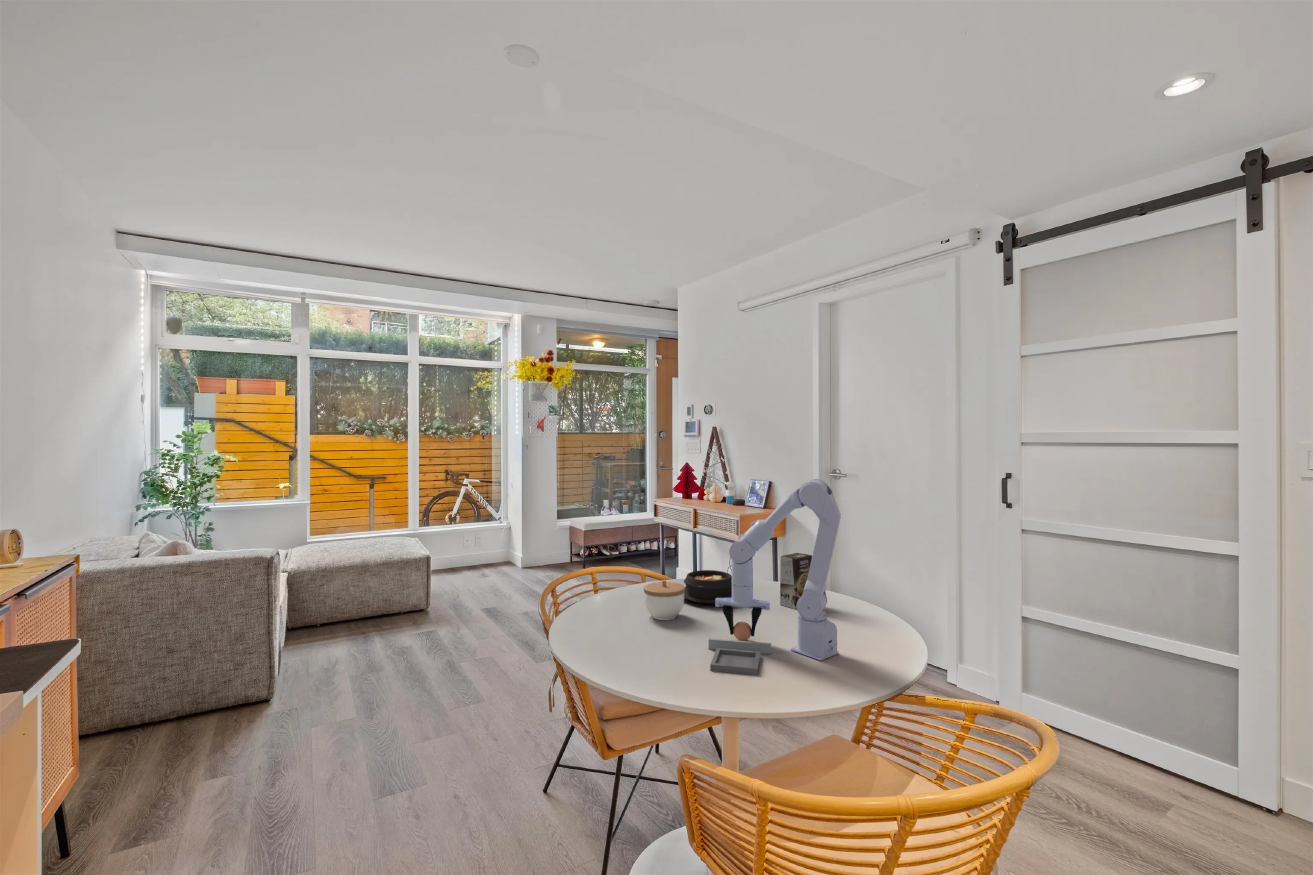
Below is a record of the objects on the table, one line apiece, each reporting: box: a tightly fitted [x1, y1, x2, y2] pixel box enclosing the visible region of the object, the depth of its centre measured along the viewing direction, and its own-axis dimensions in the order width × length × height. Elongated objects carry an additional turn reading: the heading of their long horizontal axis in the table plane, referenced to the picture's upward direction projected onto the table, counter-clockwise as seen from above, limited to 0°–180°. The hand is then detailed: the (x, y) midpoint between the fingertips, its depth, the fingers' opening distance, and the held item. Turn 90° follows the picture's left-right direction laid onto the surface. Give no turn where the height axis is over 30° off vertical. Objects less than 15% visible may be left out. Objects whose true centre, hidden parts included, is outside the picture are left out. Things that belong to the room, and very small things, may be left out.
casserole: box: [683, 569, 732, 605], centre depth 200 cm, size 25×19×8 cm
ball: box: [733, 621, 752, 641], centre depth 162 cm, size 5×5×5 cm
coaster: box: [709, 648, 761, 676], centre depth 146 cm, size 11×11×1 cm
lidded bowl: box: [643, 579, 685, 621], centre depth 183 cm, size 13×13×11 cm
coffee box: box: [779, 552, 813, 610], centre depth 195 cm, size 9×6×16 cm
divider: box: [708, 637, 772, 655], centre depth 155 cm, size 16×1×2 cm, turn 76°
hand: (742, 634), depth 162 cm, fingers closed on ball, 5 cm apart
